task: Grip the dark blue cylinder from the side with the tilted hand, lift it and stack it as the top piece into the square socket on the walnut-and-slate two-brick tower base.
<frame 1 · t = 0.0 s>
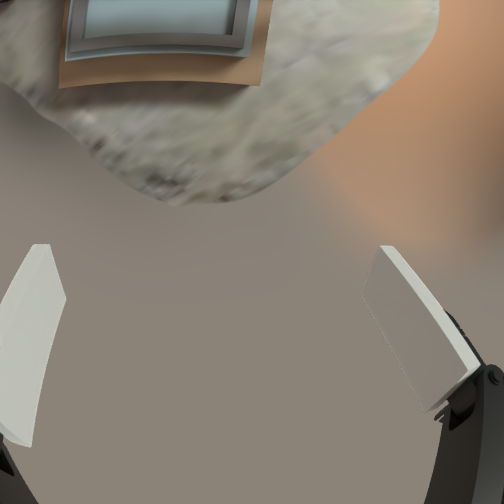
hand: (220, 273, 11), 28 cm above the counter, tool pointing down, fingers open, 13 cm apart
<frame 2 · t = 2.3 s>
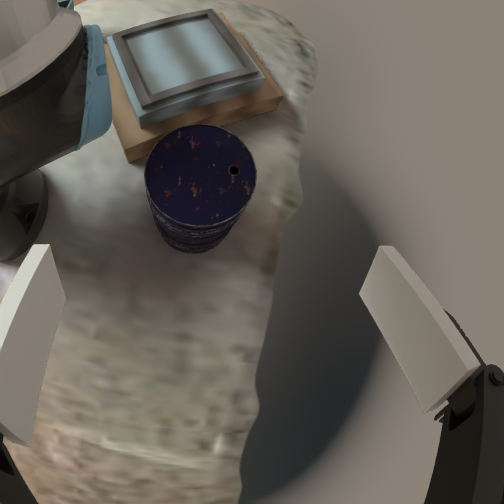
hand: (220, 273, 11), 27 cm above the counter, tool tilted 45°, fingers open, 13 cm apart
tower base: (178, 80, 42), on the counter
dark blue cylinder: (193, 217, 39), on the counter
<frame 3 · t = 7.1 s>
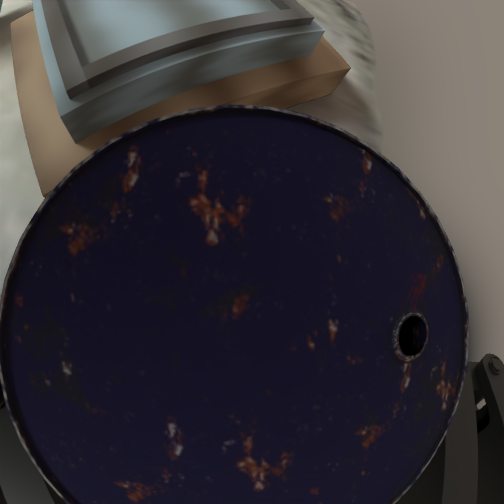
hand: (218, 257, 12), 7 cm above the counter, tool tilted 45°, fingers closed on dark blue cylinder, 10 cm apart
tower base: (156, 49, 21), on the counter
dark blue cylinder: (206, 322, 19), on the counter, touching gripper
when the fingers open (16 cm above the counter, at t = 12.8 s): dark blue cylinder drops 2 cm, resting on tower base.
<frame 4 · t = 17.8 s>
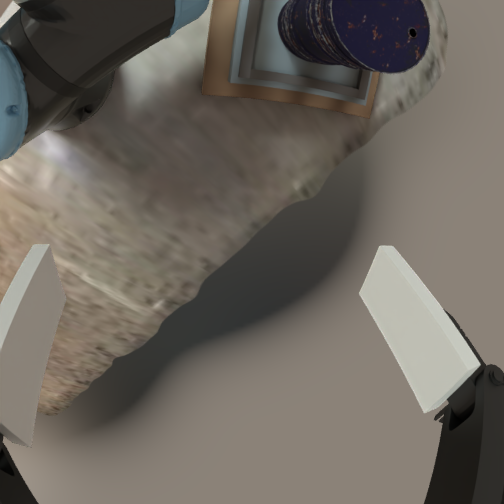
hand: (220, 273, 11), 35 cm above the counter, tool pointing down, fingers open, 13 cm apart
tower base: (296, 30, 34), on the counter
dark blue cylinder: (315, 27, 28), point 7 cm above the counter, touching tower base
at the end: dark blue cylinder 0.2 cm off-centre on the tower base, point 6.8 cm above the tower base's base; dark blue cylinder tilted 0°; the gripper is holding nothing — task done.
